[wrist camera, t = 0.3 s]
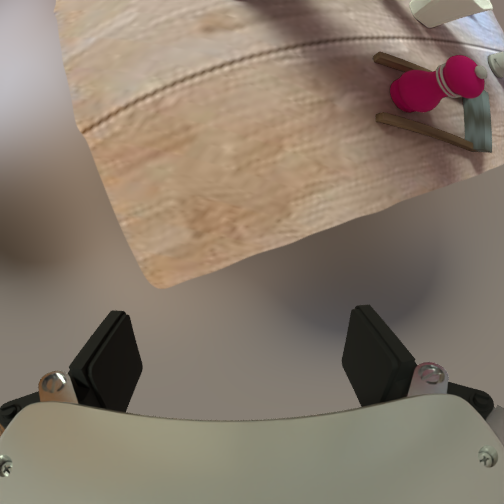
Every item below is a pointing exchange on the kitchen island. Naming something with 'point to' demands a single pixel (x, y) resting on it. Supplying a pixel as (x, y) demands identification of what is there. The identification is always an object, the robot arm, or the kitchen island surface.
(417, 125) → the guide channel
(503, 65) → the travel mug
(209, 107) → the kitchen island surface
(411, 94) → the pepper mill
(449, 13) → the cup
